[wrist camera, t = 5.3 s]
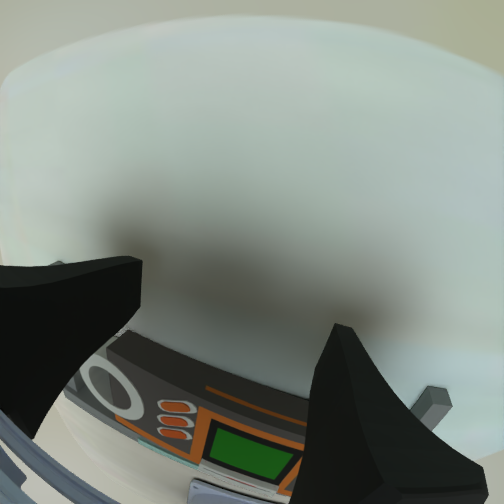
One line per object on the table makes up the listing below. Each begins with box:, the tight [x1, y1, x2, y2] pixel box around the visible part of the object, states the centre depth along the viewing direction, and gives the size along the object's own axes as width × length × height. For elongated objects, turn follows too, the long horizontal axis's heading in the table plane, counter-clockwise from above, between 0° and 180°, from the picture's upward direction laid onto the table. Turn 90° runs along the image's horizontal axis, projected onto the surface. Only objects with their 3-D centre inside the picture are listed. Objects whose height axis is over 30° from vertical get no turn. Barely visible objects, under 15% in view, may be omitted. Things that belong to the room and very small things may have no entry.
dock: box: [48, 261, 453, 497], centre depth 13 cm, size 10×21×2 cm, turn 77°
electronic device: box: [80, 330, 309, 497], centre depth 13 cm, size 7×3×15 cm
